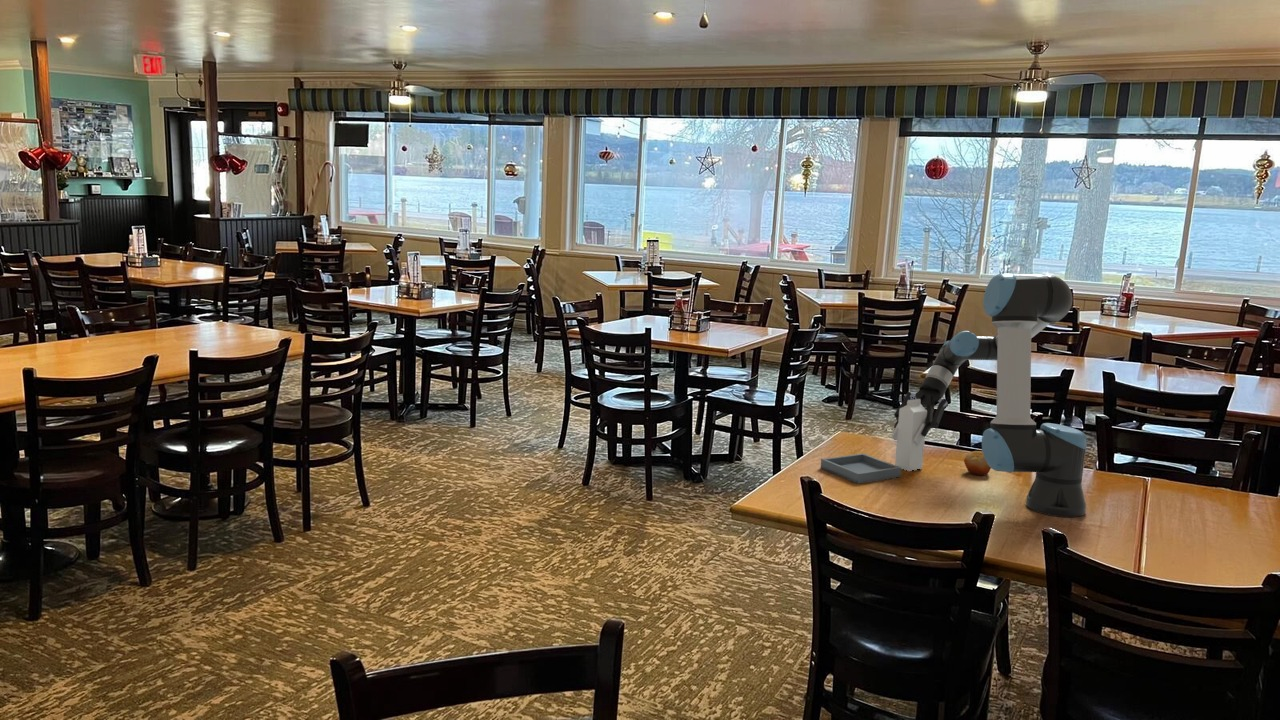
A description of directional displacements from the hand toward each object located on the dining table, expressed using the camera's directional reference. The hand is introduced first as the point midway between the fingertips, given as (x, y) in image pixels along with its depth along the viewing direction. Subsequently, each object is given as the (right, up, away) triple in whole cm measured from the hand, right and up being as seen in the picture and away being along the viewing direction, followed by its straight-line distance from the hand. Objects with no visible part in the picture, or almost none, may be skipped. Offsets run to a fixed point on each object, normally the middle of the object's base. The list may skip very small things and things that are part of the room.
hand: (904, 440), depth 290 cm
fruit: (+23, -11, 0) cm, 25 cm away
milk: (+2, -9, +4) cm, 10 cm away
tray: (-15, -10, -3) cm, 18 cm away
